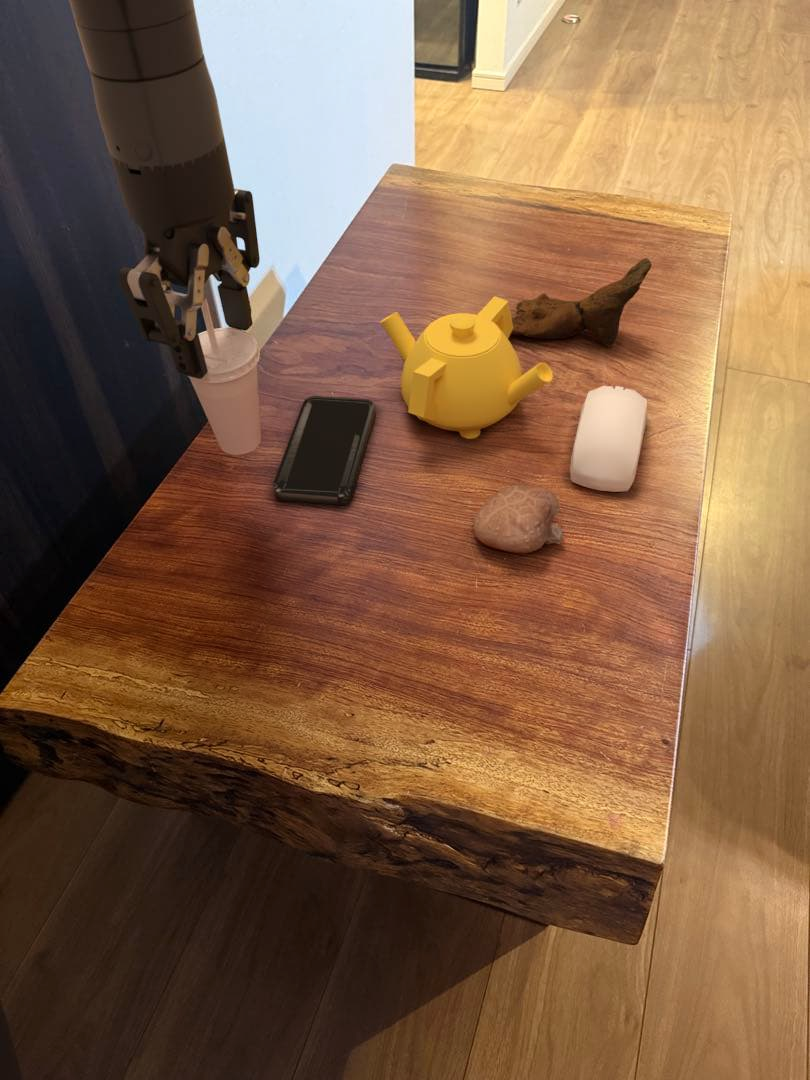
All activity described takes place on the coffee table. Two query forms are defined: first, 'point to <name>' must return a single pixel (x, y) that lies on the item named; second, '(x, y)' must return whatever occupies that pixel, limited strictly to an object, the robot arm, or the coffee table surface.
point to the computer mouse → (609, 439)
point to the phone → (325, 451)
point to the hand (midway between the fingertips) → (217, 349)
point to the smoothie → (230, 386)
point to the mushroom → (518, 519)
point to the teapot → (464, 369)
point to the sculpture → (580, 310)
